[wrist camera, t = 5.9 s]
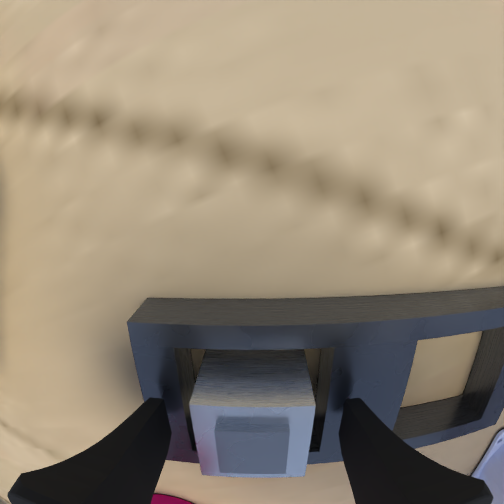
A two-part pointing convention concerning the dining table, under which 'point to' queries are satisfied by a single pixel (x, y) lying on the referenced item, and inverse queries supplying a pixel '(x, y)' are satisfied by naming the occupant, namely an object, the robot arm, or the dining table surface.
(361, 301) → the blue-grey frame board
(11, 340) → the dining table surface
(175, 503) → the pepper mill
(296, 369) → the grey metal block
